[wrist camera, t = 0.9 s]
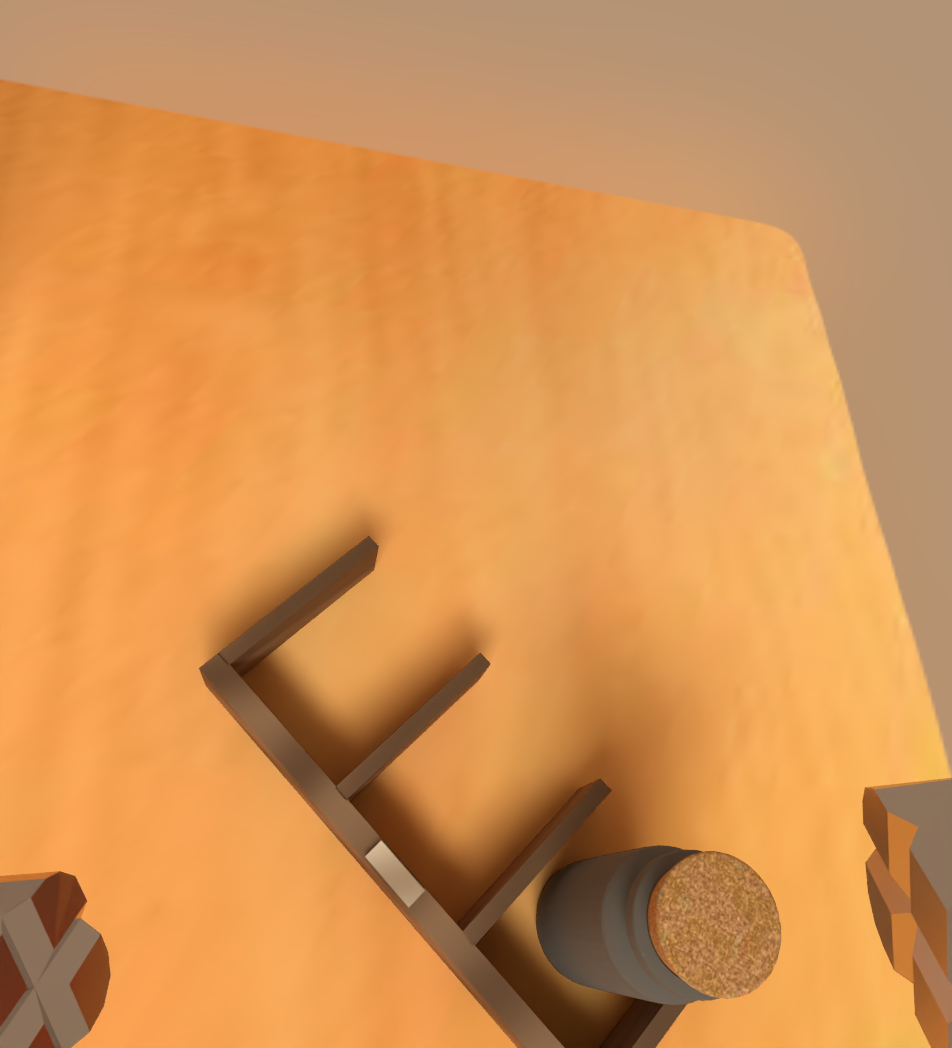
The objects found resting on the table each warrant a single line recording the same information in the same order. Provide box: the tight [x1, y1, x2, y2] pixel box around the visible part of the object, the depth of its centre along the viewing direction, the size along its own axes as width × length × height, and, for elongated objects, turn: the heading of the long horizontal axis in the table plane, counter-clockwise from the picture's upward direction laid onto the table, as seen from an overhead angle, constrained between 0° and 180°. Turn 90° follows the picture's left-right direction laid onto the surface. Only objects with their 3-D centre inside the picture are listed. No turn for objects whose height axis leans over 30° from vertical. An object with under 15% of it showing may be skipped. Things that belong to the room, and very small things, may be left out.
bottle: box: [536, 846, 781, 1005], centre depth 36 cm, size 6×6×15 cm
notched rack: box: [199, 536, 687, 1048], centre depth 42 cm, size 27×11×4 cm, turn 44°
